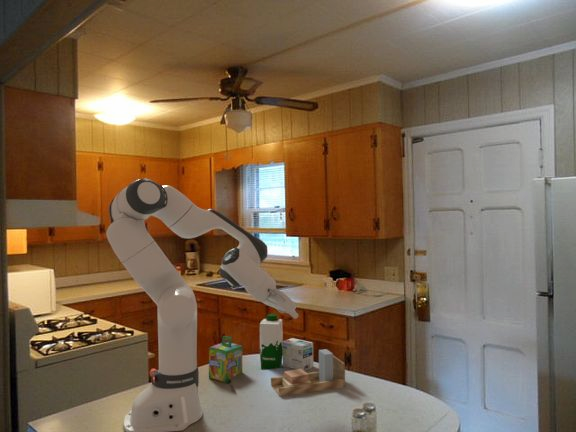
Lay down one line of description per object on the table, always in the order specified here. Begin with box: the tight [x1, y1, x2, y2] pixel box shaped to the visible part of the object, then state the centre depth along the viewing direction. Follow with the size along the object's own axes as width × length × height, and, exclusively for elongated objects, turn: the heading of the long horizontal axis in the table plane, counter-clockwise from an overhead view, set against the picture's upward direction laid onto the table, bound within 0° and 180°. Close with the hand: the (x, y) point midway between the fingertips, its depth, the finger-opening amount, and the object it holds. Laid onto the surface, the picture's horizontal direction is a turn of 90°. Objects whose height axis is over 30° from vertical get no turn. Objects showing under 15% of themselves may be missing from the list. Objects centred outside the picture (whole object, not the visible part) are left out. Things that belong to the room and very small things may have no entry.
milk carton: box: [259, 313, 284, 370], centre depth 172 cm, size 9×9×20 cm
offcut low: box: [282, 378, 311, 387], centre depth 148 cm, size 8×7×2 cm
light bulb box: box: [282, 337, 314, 372], centre depth 169 cm, size 11×7×11 cm, turn 49°
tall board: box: [318, 348, 334, 382], centre depth 151 cm, size 3×6×11 cm, turn 18°
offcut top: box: [283, 369, 309, 384], centre depth 148 cm, size 6×6×2 cm
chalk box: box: [208, 335, 243, 384], centre depth 162 cm, size 9×9×15 cm
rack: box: [270, 354, 346, 397], centre depth 149 cm, size 23×10×9 cm, turn 108°
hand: (289, 314), depth 147 cm, fingers open, 8 cm apart
